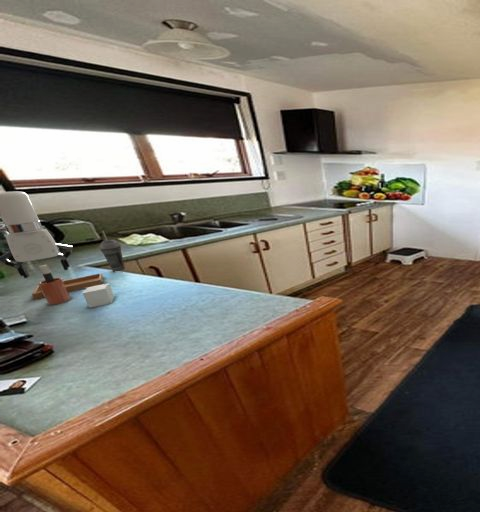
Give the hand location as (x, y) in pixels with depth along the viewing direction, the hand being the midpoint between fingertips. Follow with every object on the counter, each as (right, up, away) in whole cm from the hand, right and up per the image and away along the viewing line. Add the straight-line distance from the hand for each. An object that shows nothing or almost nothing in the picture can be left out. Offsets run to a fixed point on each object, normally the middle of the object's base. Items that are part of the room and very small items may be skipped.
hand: (47, 273), depth 100 cm
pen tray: (-9, -7, +15) cm, 19 cm away
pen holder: (0, -11, +4) cm, 12 cm away
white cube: (+18, -11, +2) cm, 22 cm away
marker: (0, -10, +4) cm, 11 cm away
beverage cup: (-7, -1, +34) cm, 35 cm away
